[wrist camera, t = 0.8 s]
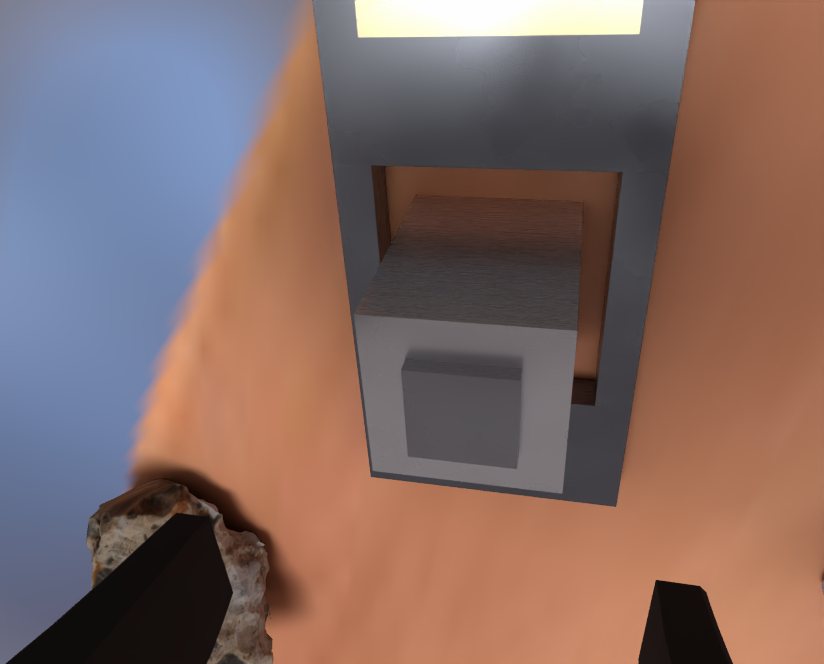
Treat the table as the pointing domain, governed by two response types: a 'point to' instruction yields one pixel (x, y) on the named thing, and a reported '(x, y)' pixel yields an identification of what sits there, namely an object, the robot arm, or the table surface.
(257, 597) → the rock
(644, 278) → the rail plate
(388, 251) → the grey upright block
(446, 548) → the table surface
